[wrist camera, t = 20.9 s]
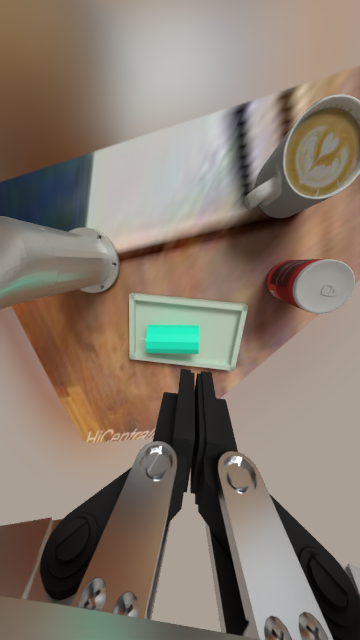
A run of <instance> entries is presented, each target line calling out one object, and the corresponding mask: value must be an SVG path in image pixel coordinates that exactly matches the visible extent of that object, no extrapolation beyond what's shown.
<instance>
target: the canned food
mask: <svg viewBox="0 0 360 640" xmlns="http://www.w3.org/2000/svg"><path fill="white" fill-rule="evenodd" d="M354 286H355V277H354V273H353V271H352V270H351V268H350V267H349V266H348V265H347V264H345V263H343V262H341V261H338V260H332V259H312V260H287V261H284V262H281V263H279V264H278V265H276V266H275V267H274V268H273V269H272V270H271V271H270V273H269V274H268V277H267V287H268V290H269V292H270V293H271V294H272V295H273V296H274V297H275V298H278V299H280V300H282V301H284V302H287V303H289V304H291V305H293V306H296V307H298V308H300V309H303V310H305V311H308V312H311V313H320V314H322V313H327V312H331V311H333V310H335V309H337V308H339V307H340V306H342V305H343V304H344V303H345V302H346V301H347V300H348V299H349V297H350V296H351V294H352V292H353V290H354Z"/></svg>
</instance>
